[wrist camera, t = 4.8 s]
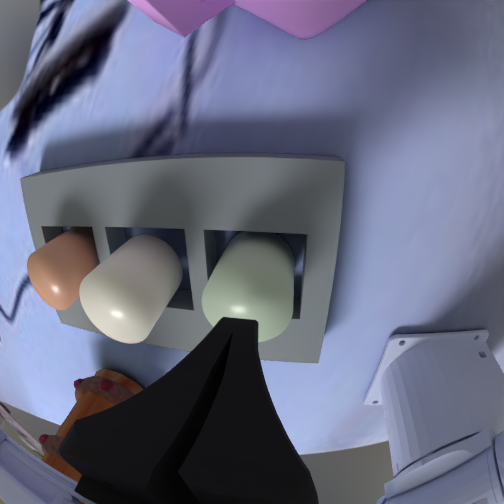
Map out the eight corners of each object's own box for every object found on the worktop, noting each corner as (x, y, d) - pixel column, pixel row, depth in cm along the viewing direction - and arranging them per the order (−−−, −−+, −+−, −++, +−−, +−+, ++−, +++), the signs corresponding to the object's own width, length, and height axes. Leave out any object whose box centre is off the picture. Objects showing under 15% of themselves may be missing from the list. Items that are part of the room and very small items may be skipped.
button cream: (178, 235, 15) (140, 276, 11) (186, 299, 16) (158, 349, 13) (115, 233, 15) (70, 268, 11) (128, 292, 17) (93, 335, 13)
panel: (338, 156, 13) (345, 161, 12) (317, 342, 19) (318, 363, 17) (39, 171, 16) (20, 178, 14) (74, 309, 21) (61, 323, 19)
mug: (85, 342, 23) (2, 460, 9) (161, 374, 23) (94, 522, 9) (105, 414, 29) (60, 501, 16) (162, 438, 29) (126, 534, 16)
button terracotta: (101, 224, 17) (59, 253, 13) (113, 279, 18) (79, 315, 14) (61, 224, 17) (20, 250, 13) (73, 274, 19) (39, 304, 15)
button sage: (296, 231, 15) (296, 271, 11) (292, 295, 17) (289, 345, 13) (221, 227, 16) (197, 264, 12) (224, 290, 17) (206, 337, 13)
